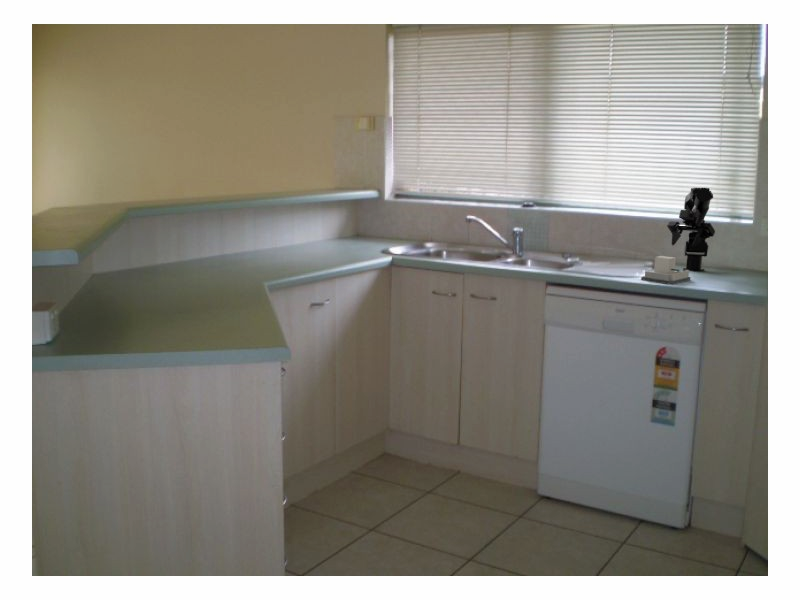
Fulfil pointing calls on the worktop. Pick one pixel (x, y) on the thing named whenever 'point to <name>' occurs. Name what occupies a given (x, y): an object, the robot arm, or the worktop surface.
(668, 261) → the gauge carriage
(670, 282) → the gauge base
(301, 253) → the worktop surface
